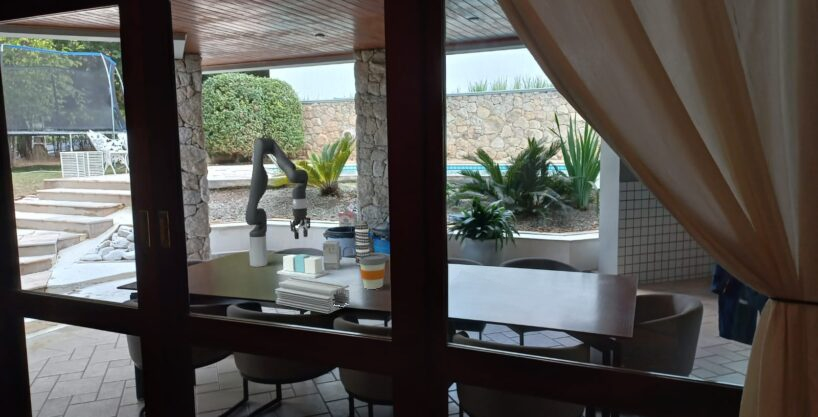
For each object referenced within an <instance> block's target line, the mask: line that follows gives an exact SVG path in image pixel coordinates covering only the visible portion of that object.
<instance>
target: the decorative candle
mask: <svg viewBox="0 0 818 417" xmlns="http://www.w3.org/2000/svg"><path fill="white" fill-rule="evenodd" d="M354 228H355V229H354V230H353V234H354V245H355V264H356V266H361V265H360V257H361V256H364V255H371V251H370V244H371V243H370V241H371V238H369V237H371V235H370V234H371V233H370V229H369V222H368V221H367V220H365V219H364V220H357V221H356V222H355V223H354Z"/></svg>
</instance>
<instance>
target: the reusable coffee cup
mask: <svg viewBox="0 0 818 417" xmlns="http://www.w3.org/2000/svg"><path fill="white" fill-rule="evenodd" d="M386 263H387V262H386V256H385V255H383V254H378V253H377V254H370V255H364V256H361V257H360V265H359V266H360V274H361V279H362V282H363V287H364V289H365V288H367V289H366V290H368V289H376V288H380V287H382V286H383V287H384V278H385V274H386V267H385V265H386ZM383 287H382V288H383ZM376 290H377V289H376Z"/></svg>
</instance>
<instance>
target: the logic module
mask: <svg viewBox="0 0 818 417" xmlns="http://www.w3.org/2000/svg"><path fill="white" fill-rule="evenodd" d="M295 255H296V256H295V270H296V271H298V272H305V264H304V259H305V258H309V257H311V255H310V254H304V253H301V254H295Z"/></svg>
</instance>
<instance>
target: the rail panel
mask: <svg viewBox="0 0 818 417" xmlns="http://www.w3.org/2000/svg"><path fill="white" fill-rule="evenodd" d="M296 255H297V254H288V255H285V256H284V255H283V256H282V263H283V266H282V267H283V269H281V270H278V271H276V273H277V275H284V276H292V277H293V276H294V277H300V278H307V279H317V278H320V277H323V276H326V275H329V274H330V272H329V271H330V270H323V257H319V256H310V257H309V258H305V259H304V264H305V272H298V271H296V270H295V256H296Z"/></svg>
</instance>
